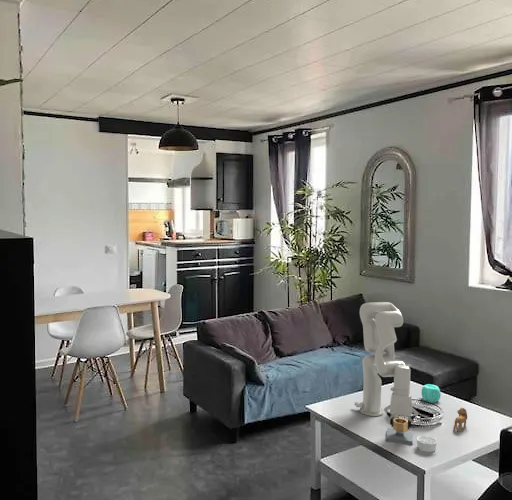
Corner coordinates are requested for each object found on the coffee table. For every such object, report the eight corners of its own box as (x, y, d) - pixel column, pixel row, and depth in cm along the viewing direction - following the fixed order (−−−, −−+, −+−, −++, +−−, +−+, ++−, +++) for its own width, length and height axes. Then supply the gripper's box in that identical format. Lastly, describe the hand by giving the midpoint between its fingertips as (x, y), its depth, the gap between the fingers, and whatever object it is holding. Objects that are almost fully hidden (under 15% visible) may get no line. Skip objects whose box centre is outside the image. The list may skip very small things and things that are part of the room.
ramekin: (426, 442, 252) (426, 434, 252) (440, 450, 245) (441, 441, 244) (412, 446, 248) (412, 437, 248) (426, 454, 240) (427, 445, 240)
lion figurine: (456, 422, 277) (457, 405, 276) (467, 424, 274) (468, 407, 274) (452, 432, 264) (452, 415, 263) (463, 435, 262) (464, 417, 261)
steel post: (395, 435, 256) (395, 425, 256) (395, 432, 260) (396, 422, 260) (404, 436, 255) (404, 426, 255) (404, 433, 259) (404, 423, 259)
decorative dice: (433, 397, 313) (434, 384, 312) (440, 402, 305) (441, 388, 304) (421, 397, 312) (421, 384, 311) (427, 402, 304) (427, 389, 303)
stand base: (386, 440, 254) (386, 437, 254) (387, 430, 265) (387, 427, 265) (412, 444, 250) (412, 441, 250) (412, 434, 262) (413, 431, 262)
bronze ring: (392, 430, 255) (392, 422, 254) (393, 425, 261) (393, 417, 261) (407, 432, 253) (407, 424, 252) (408, 427, 259) (408, 419, 259)
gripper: (382, 391, 255) (381, 427, 256) (420, 395, 250) (419, 432, 251) (383, 386, 262) (382, 421, 263) (420, 390, 257) (419, 426, 258)
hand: (400, 426), depth 257 cm, fingers closed on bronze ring, 7 cm apart
